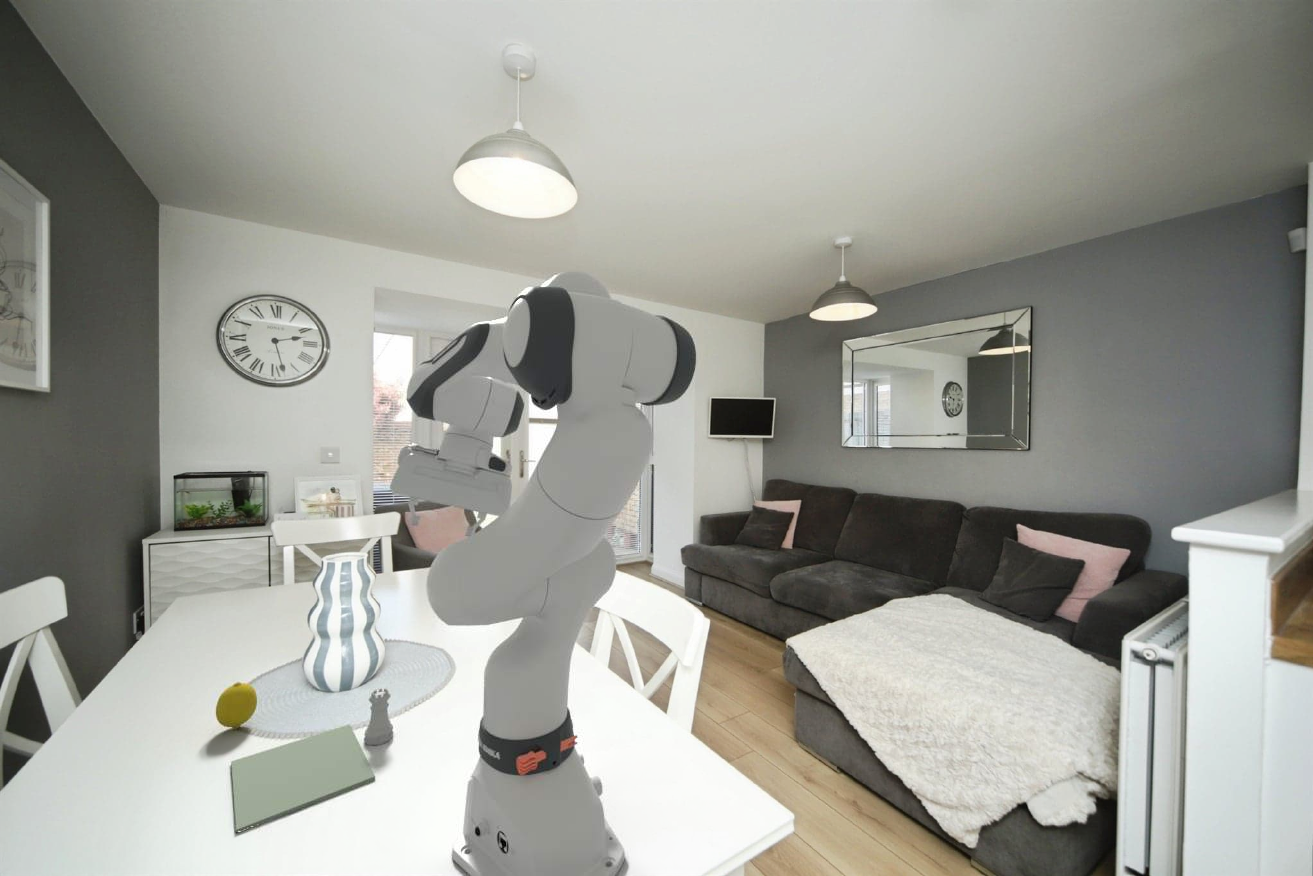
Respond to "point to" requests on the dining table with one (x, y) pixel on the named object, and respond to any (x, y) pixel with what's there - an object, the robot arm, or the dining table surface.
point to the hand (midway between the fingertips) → (441, 531)
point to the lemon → (236, 705)
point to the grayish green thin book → (297, 775)
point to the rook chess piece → (379, 719)
